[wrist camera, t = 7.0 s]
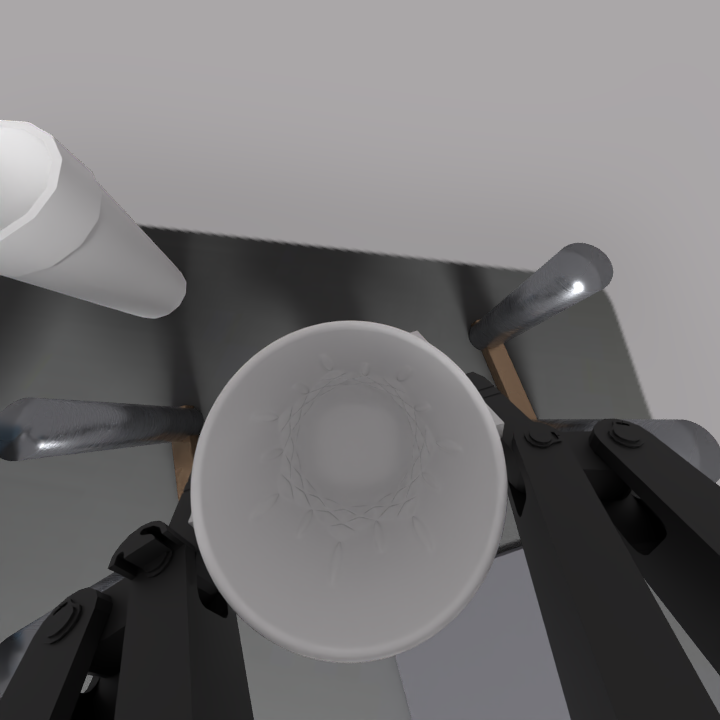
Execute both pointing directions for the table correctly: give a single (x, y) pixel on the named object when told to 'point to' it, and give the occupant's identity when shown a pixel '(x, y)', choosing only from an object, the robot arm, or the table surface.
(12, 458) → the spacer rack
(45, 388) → the table surface
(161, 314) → the foam cup
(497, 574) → the mat
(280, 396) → the white cup
